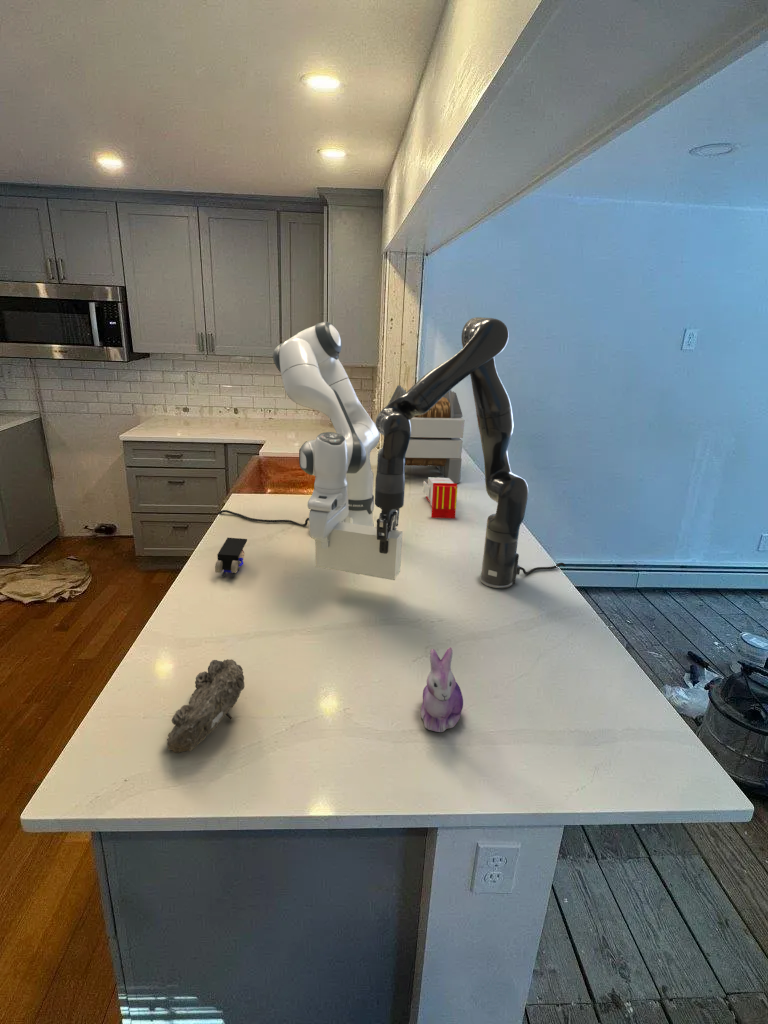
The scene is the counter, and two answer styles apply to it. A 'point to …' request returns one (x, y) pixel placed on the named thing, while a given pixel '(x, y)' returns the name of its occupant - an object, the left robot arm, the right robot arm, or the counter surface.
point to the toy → (441, 497)
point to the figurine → (441, 695)
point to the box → (360, 551)
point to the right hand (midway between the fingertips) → (387, 548)
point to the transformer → (437, 436)
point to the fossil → (206, 705)
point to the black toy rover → (230, 556)
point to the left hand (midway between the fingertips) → (330, 542)
